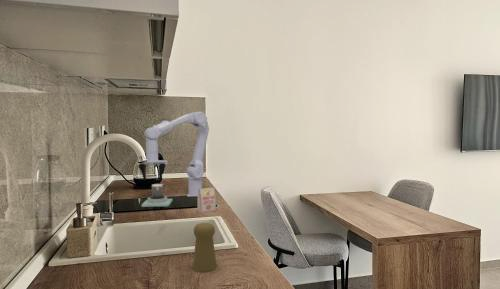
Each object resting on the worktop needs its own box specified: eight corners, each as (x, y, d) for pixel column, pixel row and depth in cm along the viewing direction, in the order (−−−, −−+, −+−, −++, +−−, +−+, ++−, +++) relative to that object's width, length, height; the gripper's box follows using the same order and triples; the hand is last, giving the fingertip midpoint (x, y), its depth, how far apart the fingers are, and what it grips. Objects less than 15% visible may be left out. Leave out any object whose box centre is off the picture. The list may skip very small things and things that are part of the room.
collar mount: (150, 199, 166) (150, 195, 166) (168, 199, 167) (168, 195, 167) (146, 203, 158) (146, 199, 157) (165, 203, 158) (165, 198, 158)
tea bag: (197, 211, 146) (197, 188, 145) (212, 209, 149) (212, 186, 149) (200, 213, 143) (200, 189, 142) (215, 211, 146) (215, 187, 145)
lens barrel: (153, 200, 164) (152, 183, 164) (163, 200, 165) (163, 183, 165) (151, 202, 160) (150, 185, 159) (162, 202, 160) (161, 185, 160)
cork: (190, 264, 88) (189, 222, 87) (212, 261, 90) (212, 219, 90) (196, 273, 82) (195, 228, 82) (220, 269, 85) (219, 225, 84)
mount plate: (147, 201, 168) (147, 199, 168) (172, 200, 169) (172, 198, 168) (141, 206, 156) (141, 204, 156) (168, 206, 157) (168, 203, 157)
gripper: (134, 152, 165) (135, 180, 166) (165, 152, 166) (166, 180, 167) (138, 151, 172) (139, 178, 173) (168, 151, 173) (168, 178, 174)
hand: (152, 179), depth 170 cm, fingers open, 7 cm apart
